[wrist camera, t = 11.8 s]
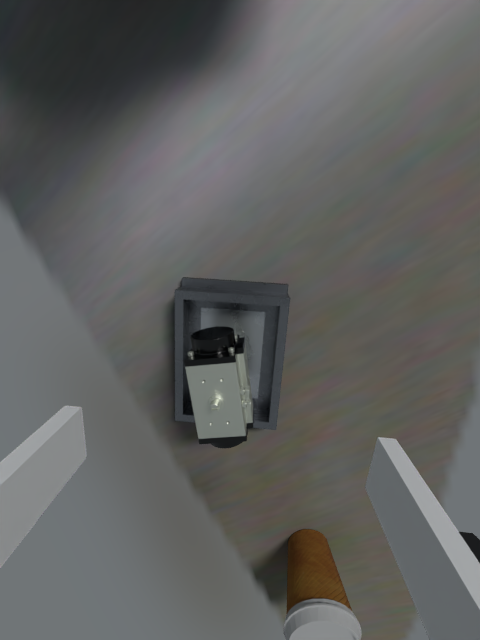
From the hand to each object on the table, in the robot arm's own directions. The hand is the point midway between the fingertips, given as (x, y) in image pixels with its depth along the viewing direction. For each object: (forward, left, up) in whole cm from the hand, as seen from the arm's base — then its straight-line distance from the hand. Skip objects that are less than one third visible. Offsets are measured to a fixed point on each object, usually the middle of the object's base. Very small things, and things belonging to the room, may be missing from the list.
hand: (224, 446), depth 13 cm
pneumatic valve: (+6, -2, -24) cm, 24 cm away
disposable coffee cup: (+37, +12, -25) cm, 46 cm away
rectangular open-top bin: (+5, -2, -25) cm, 25 cm away
